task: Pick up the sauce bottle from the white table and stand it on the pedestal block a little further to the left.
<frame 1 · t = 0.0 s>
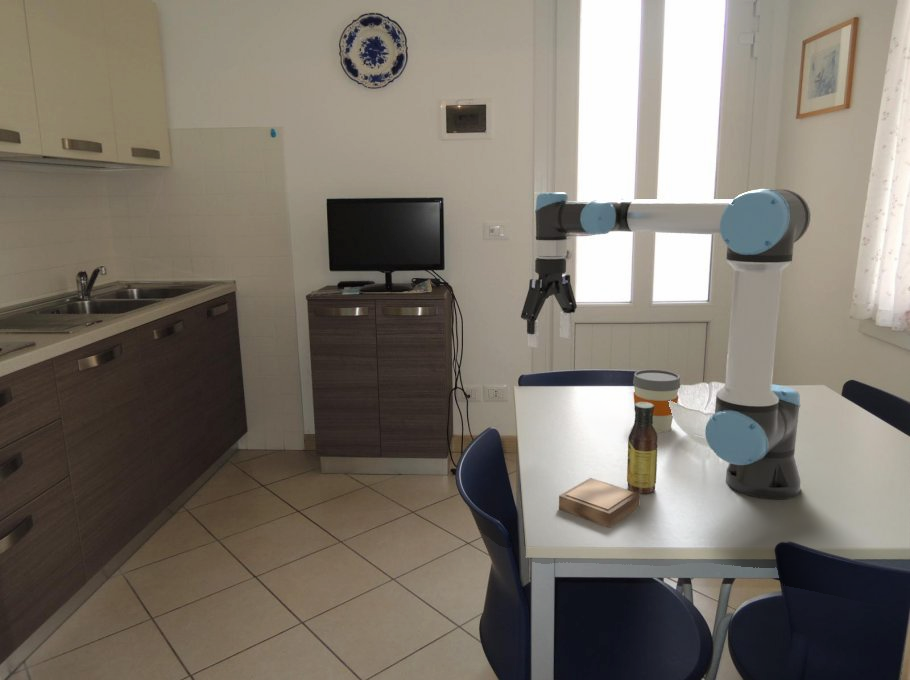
hand: (549, 342, 168), 28 cm above the table, fingers open, 13 cm apart
pedestal: (599, 507, 140), on the table
sauce bottle: (640, 489, 149), on the table
reusable coffee cup: (654, 427, 188), on the table
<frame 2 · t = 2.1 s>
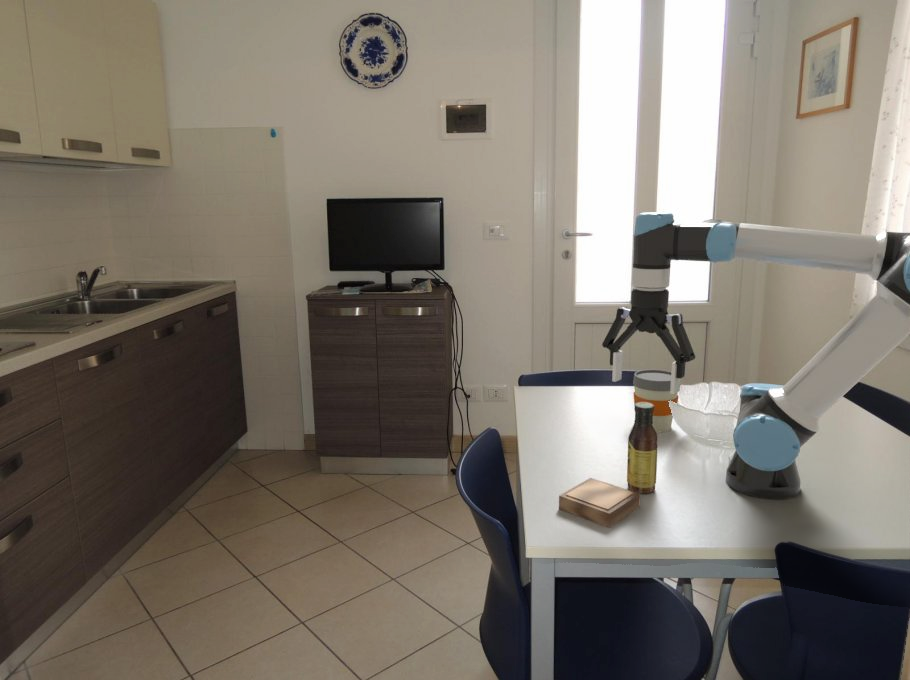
hand: (644, 386, 144), 24 cm above the table, fingers open, 13 cm apart
nothing on the table moved.
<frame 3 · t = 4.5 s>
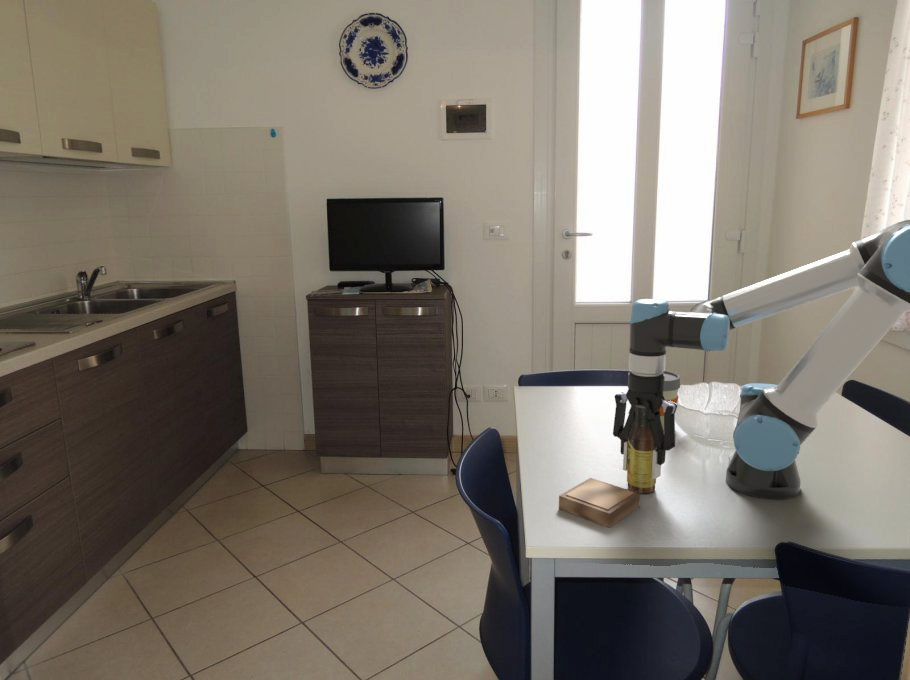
hand: (641, 472, 148), 4 cm above the table, fingers closed on sauce bottle, 6 cm apart
sauce bottle: (640, 489, 149), on the table, touching gripper
everything else where it was.
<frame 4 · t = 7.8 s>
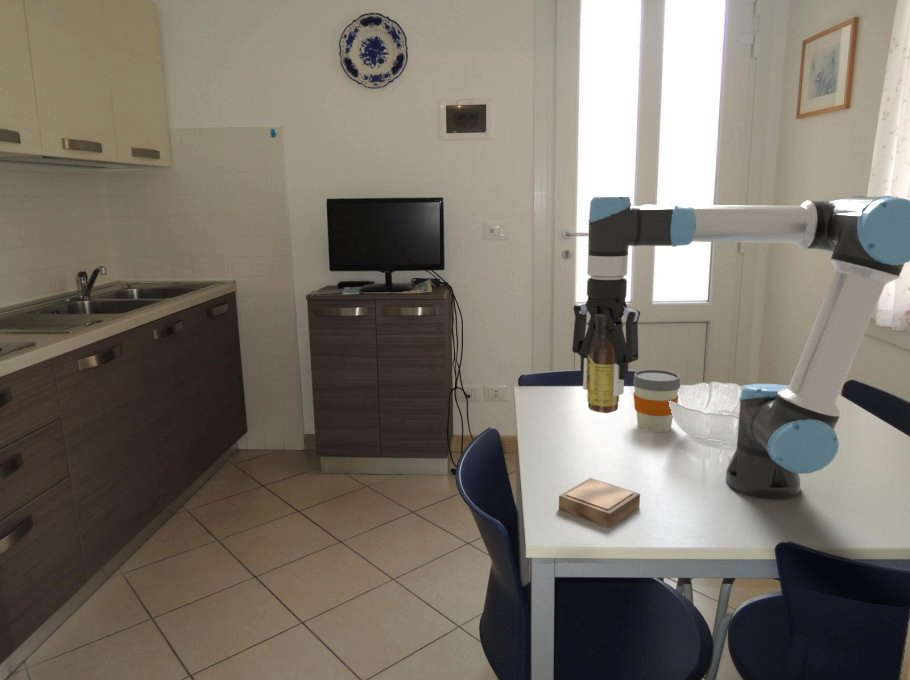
hand: (603, 391, 135), 26 cm above the table, fingers closed on sauce bottle, 6 cm apart
sauce bottle: (602, 410, 136), point 21 cm above the table, touching gripper
everything else where it was.
when the fingers open (8 cm above the table, at t = 11.2 s): sauce bottle stays where it is, resting on pedestal.
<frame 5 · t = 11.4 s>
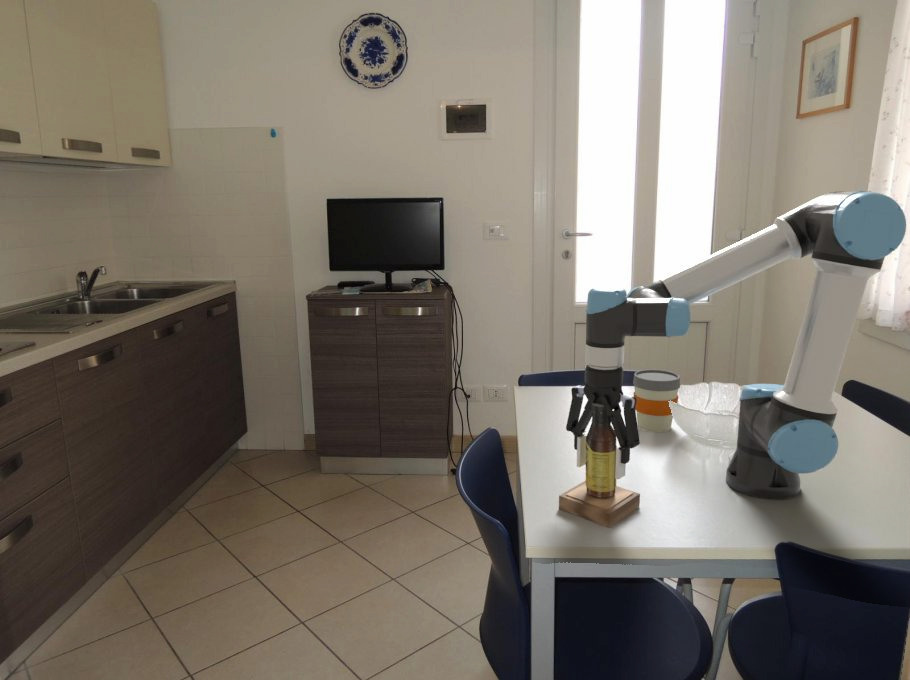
hand: (600, 470, 138), 8 cm above the table, fingers open, 8 cm apart
sauce bottle: (600, 494, 139), point 3 cm above the table, touching pedestal
everything else where it was.
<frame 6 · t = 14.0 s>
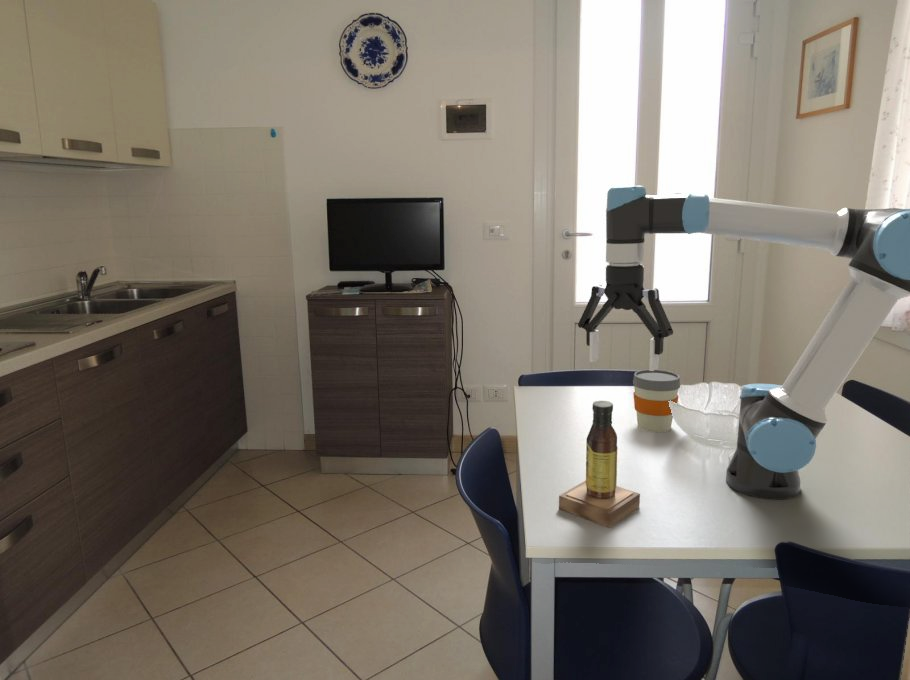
hand: (623, 365, 140), 29 cm above the table, fingers open, 13 cm apart
nothing on the table moved.
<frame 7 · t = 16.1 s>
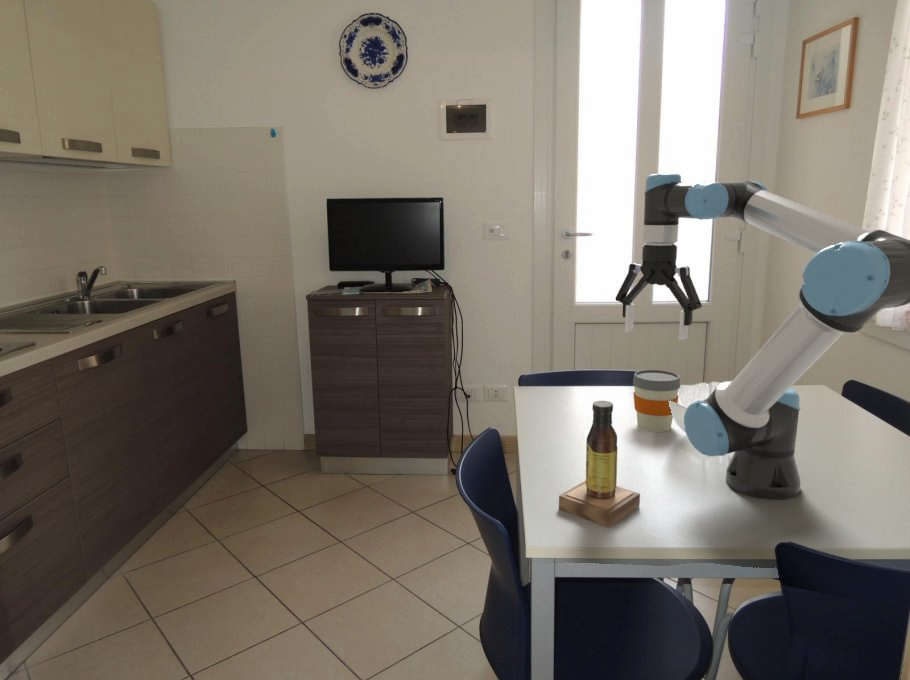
hand: (655, 335, 157), 32 cm above the table, fingers open, 13 cm apart
nothing on the table moved.
at the end: sauce bottle inside the target area on the pedestal (0.1 cm from its centre), point 3.1 cm above the pedestal's base; sauce bottle tilted 0°; the gripper is holding nothing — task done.
